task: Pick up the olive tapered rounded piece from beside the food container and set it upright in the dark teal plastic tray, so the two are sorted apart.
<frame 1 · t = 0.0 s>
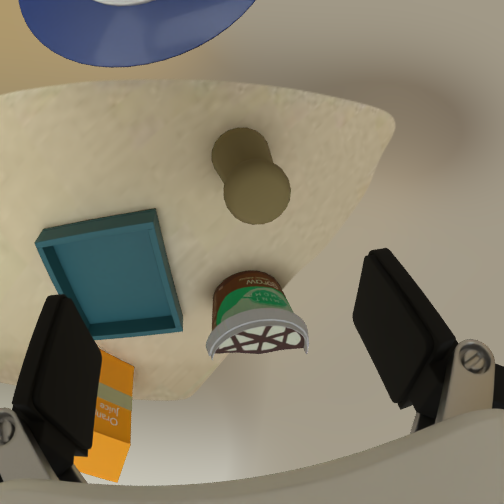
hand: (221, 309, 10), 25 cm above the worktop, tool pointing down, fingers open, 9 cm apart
olive tapered rounded piece: (240, 154, 33), on the worktop
tray: (114, 276, 38), on the worktop
food container: (249, 281, 42), on the worktop
orange juice: (101, 364, 48), on the worktop
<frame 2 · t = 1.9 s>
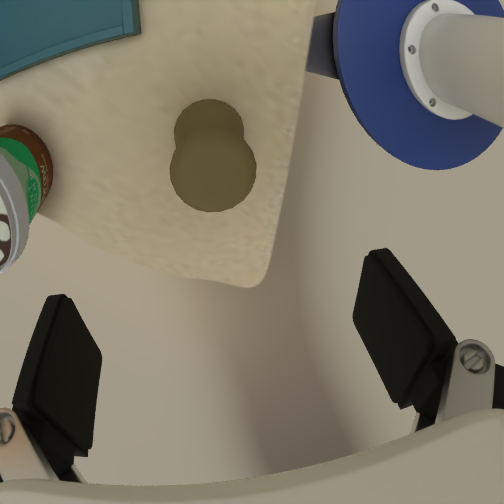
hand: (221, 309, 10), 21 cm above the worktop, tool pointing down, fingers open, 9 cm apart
olive tapered rounded piece: (208, 132, 27), on the worktop
food container: (37, 167, 25), on the worktop
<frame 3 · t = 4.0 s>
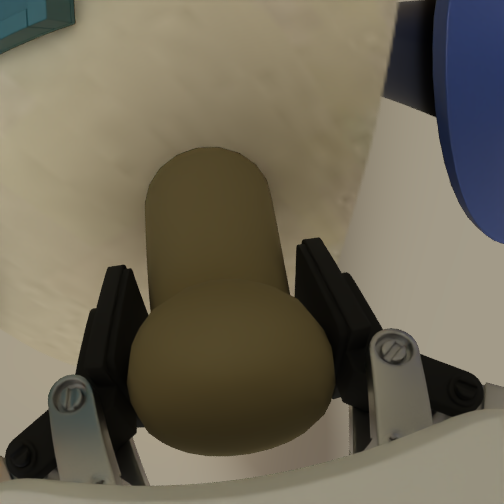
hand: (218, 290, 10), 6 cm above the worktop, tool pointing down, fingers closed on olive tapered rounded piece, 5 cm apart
olive tapered rounded piece: (208, 206, 15), on the worktop, touching gripper
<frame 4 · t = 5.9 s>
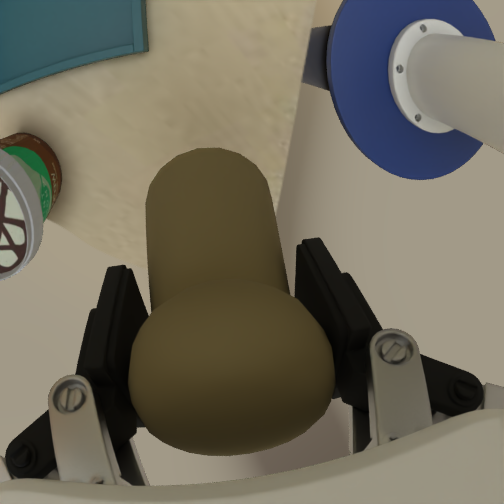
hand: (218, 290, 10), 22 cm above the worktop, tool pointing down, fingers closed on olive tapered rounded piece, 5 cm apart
olive tapered rounded piece: (208, 206, 15), point 16 cm above the worktop, touching gripper
tray: (56, 1, 18), on the worktop
food container: (46, 174, 27), on the worktop
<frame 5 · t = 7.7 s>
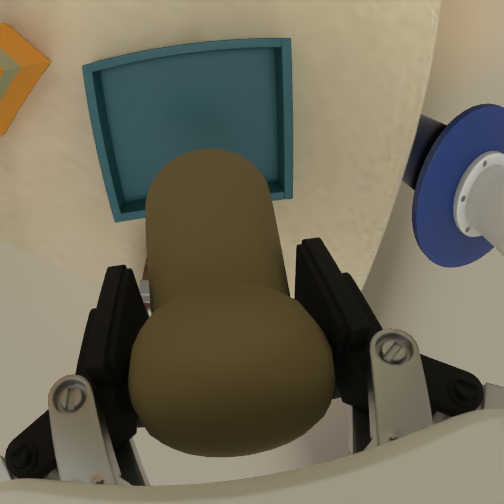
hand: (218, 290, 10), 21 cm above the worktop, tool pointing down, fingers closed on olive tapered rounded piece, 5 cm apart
olive tapered rounded piece: (208, 207, 15), point 15 cm above the worktop, touching gripper
tray: (192, 123, 27), on the worktop
food container: (178, 276, 37), on the worktop
orange juice: (4, 78, 20), on the worktop
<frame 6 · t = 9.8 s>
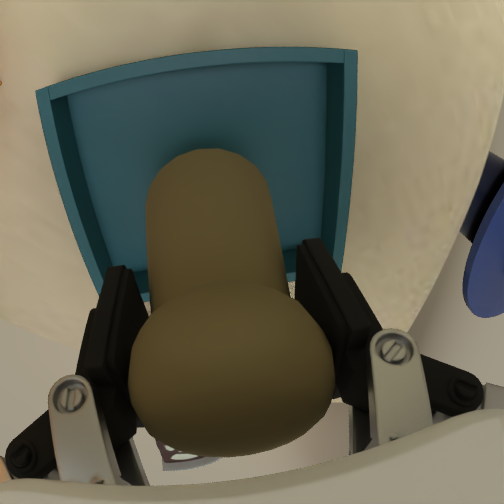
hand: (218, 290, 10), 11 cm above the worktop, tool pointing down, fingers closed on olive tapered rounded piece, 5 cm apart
olive tapered rounded piece: (208, 207, 15), point 5 cm above the worktop, touching gripper
tray: (205, 170, 19), on the worktop
food container: (188, 351, 29), on the worktop
when the fingers open (6 cm above the worktop, at t = 11.5 s): olive tapered rounded piece stays where it is, resting on tray.
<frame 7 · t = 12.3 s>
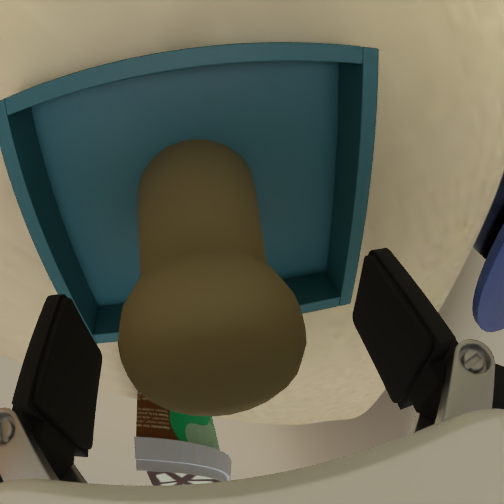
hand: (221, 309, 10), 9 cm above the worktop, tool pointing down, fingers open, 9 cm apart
olive tapered rounded piece: (196, 194, 16), resting on tray
tray: (195, 191, 17), on the worktop
food container: (182, 380, 26), on the worktop
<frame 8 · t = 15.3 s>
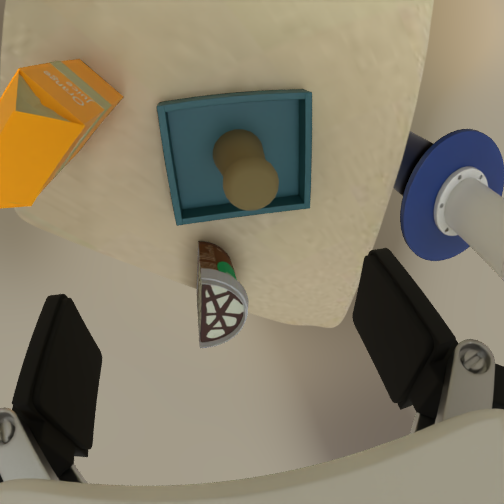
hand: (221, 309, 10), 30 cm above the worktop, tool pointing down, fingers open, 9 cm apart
olive tapered rounded piece: (237, 152, 37), resting on tray
tray: (237, 151, 38), on the worktop
food container: (218, 267, 47), on the worktop
orange juice: (78, 105, 31), on the worktop
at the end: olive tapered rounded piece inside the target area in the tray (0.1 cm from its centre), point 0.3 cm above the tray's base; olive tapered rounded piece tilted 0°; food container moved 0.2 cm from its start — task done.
